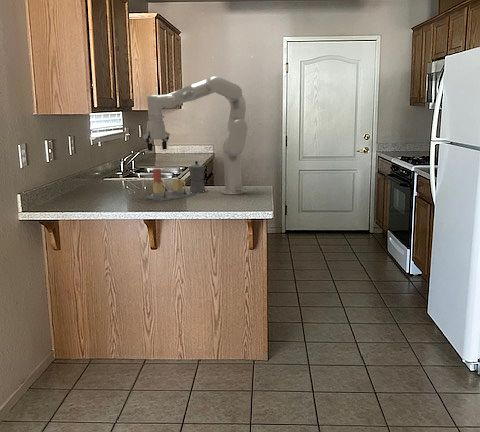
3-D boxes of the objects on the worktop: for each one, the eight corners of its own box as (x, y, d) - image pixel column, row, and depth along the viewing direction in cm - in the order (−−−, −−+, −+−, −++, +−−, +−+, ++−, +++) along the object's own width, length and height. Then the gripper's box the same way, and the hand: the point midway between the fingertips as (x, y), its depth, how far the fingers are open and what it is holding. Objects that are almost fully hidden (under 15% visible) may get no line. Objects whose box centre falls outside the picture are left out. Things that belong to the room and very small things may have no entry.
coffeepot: (204, 193, 315) (202, 162, 311) (187, 193, 315) (186, 162, 312) (207, 189, 330) (206, 159, 326) (192, 189, 330) (190, 160, 327)
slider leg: (167, 195, 299) (166, 169, 296) (162, 196, 296) (161, 170, 294) (158, 194, 305) (157, 168, 302) (153, 194, 302) (152, 169, 299)
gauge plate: (195, 195, 309) (195, 179, 307) (161, 200, 292) (160, 184, 291) (180, 193, 318) (179, 178, 317) (146, 198, 302) (145, 182, 300)
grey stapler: (172, 194, 316) (166, 178, 313) (165, 197, 314) (158, 181, 311) (166, 190, 331) (160, 175, 328) (159, 193, 330) (152, 178, 327)
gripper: (164, 117, 304) (165, 148, 307) (138, 119, 292) (140, 151, 295) (172, 117, 299) (174, 149, 302) (146, 118, 287) (148, 151, 290)
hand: (157, 150), depth 299 cm, fingers open, 9 cm apart
